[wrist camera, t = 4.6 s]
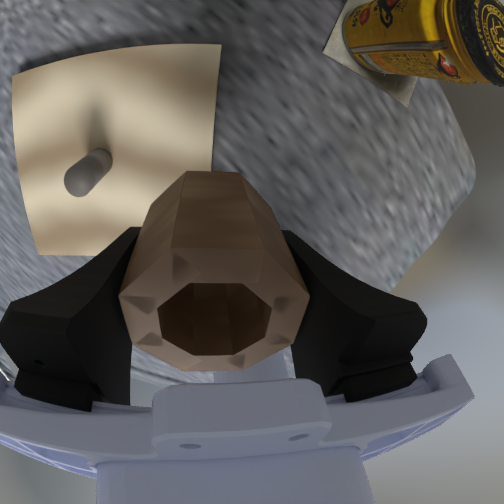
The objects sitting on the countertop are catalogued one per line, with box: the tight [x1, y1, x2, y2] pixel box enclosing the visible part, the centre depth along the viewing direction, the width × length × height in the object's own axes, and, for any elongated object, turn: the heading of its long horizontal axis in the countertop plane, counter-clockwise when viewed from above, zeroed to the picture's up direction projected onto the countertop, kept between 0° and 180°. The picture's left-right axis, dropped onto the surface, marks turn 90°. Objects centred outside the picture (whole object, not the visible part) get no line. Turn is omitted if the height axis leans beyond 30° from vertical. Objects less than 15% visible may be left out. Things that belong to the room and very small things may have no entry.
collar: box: [118, 171, 310, 371], centre depth 11 cm, size 6×6×6 cm
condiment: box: [323, 0, 504, 107], centre depth 10 cm, size 7×8×12 cm
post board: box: [12, 44, 222, 256], centre depth 15 cm, size 16×16×5 cm
